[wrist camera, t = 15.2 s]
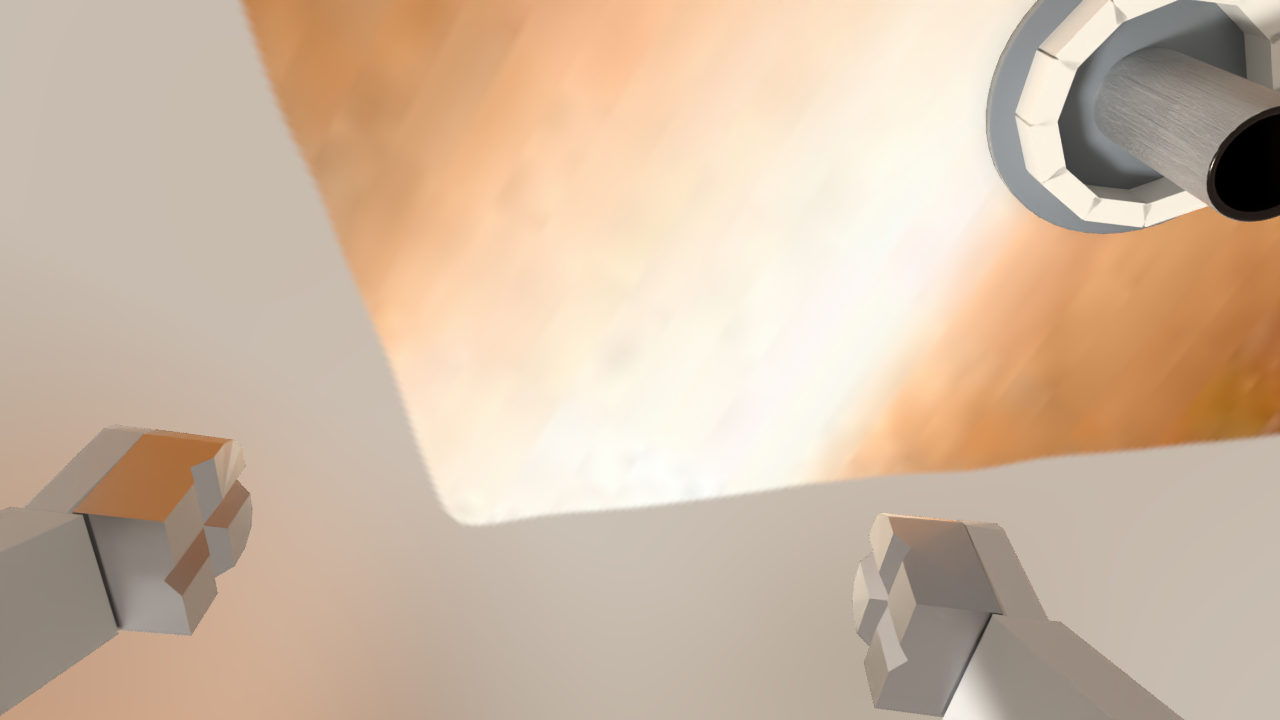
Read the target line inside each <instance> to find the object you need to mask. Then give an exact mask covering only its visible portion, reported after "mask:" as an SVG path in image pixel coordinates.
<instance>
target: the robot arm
mask: <svg viewBox="0 0 1280 720" xmlns="http://www.w3.org/2000/svg"><path fill="white" fill-rule="evenodd" d="M244 468H245V461H244V456H243V452H242V447H241V445H240V444H239V443H237V442H235V441H234V440H231V439H224V438H216V437H209V436H202V435H194V434H187V433H179V432H172V431H165V430H157V429H156V430H151V429H145V428H137V427H129V426H122V425H113V426H110V427H107V428H104V429H102V430H101V431H100V432H99V433H98V434H97V435H96V436H95V437H94V438H93V439H92V440H91V441H90V442H89V443H88V444H87V445H86V446H85V447H84V448H83V449H82V450H81V451H80V452H79V453H78V454H77V455H76V456H75V457H74V458H73V459H72V460H71V461H70V462H69V463H68V464H67V465H66V466H65V467H64V468H63V469H62V470H61V471H60V472H59V473H58V474H57V475H56V476H55V477H54V478H53V479H52V480H51V481H50V482H49V483H48V484H47V485H46V486H45V487H44V488H43V489H42V490H41V491H40V492H39V493H38V494H37V495H36V496H35V497H34V498H33V499H32V500H31V501H30V502H29V503H28V504H27V505H26V506H25V507H24V508H15V507H9V508H6V509H4V510H1V511H0V716H1V715H2V714H4V713H5V712H6V711H8V710H9V709H11V708H12V707H14V706H15V705H17V704H18V703H19V702H21V701H22V700H24V699H25V698H27V697H28V696H29V695H31V694H33V693H34V692H35V691H37V690H38V689H40V688H41V687H43V686H44V685H46V684H47V683H48V682H50V681H51V680H53V679H54V678H56V677H57V676H58V675H60V674H61V673H63V672H64V671H66V670H67V669H69V668H70V667H71V666H73V665H74V664H76V663H77V662H79V661H80V660H82V659H83V658H84V657H86V656H87V655H89V654H90V653H92V652H93V651H94V650H96V649H97V648H99V647H100V646H101V645H103V644H104V643H106V642H107V641H109V640H110V639H112V638H113V637H115V636H116V635H118V630H126V631H139V632H151V633H164V634H177V635H190V636H191V635H192V634H193V632H194V630H195V629H196V627H197V626H198V624H199V622H200V621H201V619H202V618H203V616H204V614H205V613H206V611H207V610H208V608H209V607H210V605H211V603H212V602H213V600H214V598H215V597H216V595H217V593H218V592H217V587H216V582H215V577H217V576H218V575H220V574H222V573H224V572H226V571H227V570H229V569H231V568H232V567H234V566H235V564H236V563H237V561H238V559H239V558H240V556H241V554H242V553H243V551H244V549H245V546H246V543H247V540H248V536H249V533H250V529H251V526H252V503H251V496H250V493H249V492H248V491H247V490H246V489H245V488H244V487H243V486H242V485H241V484H240V482H239V481H238V480H237V478H238V477H239V475H240V474H241V472H242V471H243V469H244ZM869 538H870V542H871V546H872V550H873V552H872V553H871V554H869V555H868V556H867V557H865V558H864V559H862V560H861V561H860V563H859V566H858V569H857V573H856V576H855V579H854V588H853V598H852V604H853V617H854V622H855V626H856V632H857V634H858V635H859V636H860V637H861V638H862V639H863V640H864V641H865V642H866V643H867V644H868V645H869V646H870V647H869V650H868V652H867V655H866V658H865V660H864V666H865V670H866V674H867V679H868V682H869V687H870V691H871V695H872V699H873V703H874V707H875V708H878V709H887V710H893V711H901V712H908V713H916V714H923V715H931V716H939V717H943V719H942V720H1184V719H1182V718H1181V717H1180V716H1179V715H1177V714H1176V713H1175V712H1174V711H1172V710H1171V709H1170V708H1168V707H1167V706H1166V705H1165V704H1164V703H1162V702H1161V701H1160V700H1158V699H1157V698H1156V697H1155V696H1154V695H1152V694H1151V693H1150V692H1148V691H1147V690H1146V689H1145V688H1143V687H1142V686H1141V685H1140V684H1138V683H1137V682H1136V681H1135V680H1133V679H1132V678H1131V677H1130V676H1128V675H1127V674H1126V673H1125V672H1123V671H1122V670H1121V669H1119V668H1118V667H1117V666H1116V665H1114V664H1113V663H1112V662H1111V661H1109V660H1108V659H1107V658H1106V657H1104V656H1103V655H1102V654H1101V653H1099V652H1098V651H1097V650H1095V649H1094V648H1093V647H1092V646H1091V645H1089V644H1088V643H1087V642H1085V641H1084V640H1083V639H1082V638H1080V637H1079V636H1078V635H1076V634H1075V633H1074V632H1073V631H1072V630H1070V629H1069V628H1068V627H1067V626H1065V625H1064V624H1063V623H1061V622H1057V621H1049V620H1048V618H1047V616H1046V614H1045V612H1044V610H1043V608H1042V606H1041V604H1040V602H1039V599H1038V598H1037V595H1036V594H1035V591H1034V589H1033V587H1032V585H1031V583H1030V581H1029V579H1028V577H1027V575H1026V573H1025V571H1024V569H1023V568H1022V565H1021V563H1020V561H1019V559H1018V557H1017V555H1016V553H1015V551H1014V549H1013V547H1012V545H1011V543H1010V541H1009V539H1008V537H1007V535H1006V533H1005V531H1004V529H1003V528H1001V527H1000V526H999V525H998V524H997V523H986V522H975V521H963V520H957V521H953V520H945V519H935V518H926V517H925V518H924V517H916V516H907V515H897V514H888V513H880V514H879V515H878V516H877V518H876V519H875V520H874V522H873V526H872V528H871V531H870V534H869Z"/></svg>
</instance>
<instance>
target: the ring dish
mask: <svg viewBox="0 0 1280 720" xmlns="http://www.w3.org/2000/svg"><path fill="white" fill-rule="evenodd" d="M1156 47H1157V48H1166V49H1170V50H1174V51H1177V52H1180V53H1183V54H1185V55H1187V56H1190V57H1192V58H1195V59H1197V60H1200V61H1202V62H1205V63H1207V64H1210V65H1212V66H1215V67H1217V68H1220V69H1222V70H1225V71H1227V72H1230V73H1232V74H1235V75H1237V76H1240V77H1242V78H1245V79H1247V80H1250V81H1252V82H1255V83H1257V84H1260V85H1262V86H1265V87H1267V88H1270V89H1272V90H1275V91H1277V92H1280V0H1037V2H1036V3H1035V4H1034V5H1033V6H1032V8H1031V9H1030V10H1029V11H1028V12H1027V14H1026V15H1025V16H1024V17H1023V19H1022V20H1021V22H1020V23H1019V25H1018V26H1017V28H1016V29H1015V31H1014V32H1013V34H1012V35H1011V37H1010V39H1009V41H1008V42H1007V44H1006V46H1005V48H1004V50H1003V52H1002V54H1001V56H1000V59H999V61H998V64H997V66H996V69H995V72H994V74H993V78H992V82H991V86H990V89H989V93H988V100H987V108H986V134H987V140H988V147H989V151H990V154H991V157H992V160H993V164H994V166H995V168H996V170H997V172H998V174H999V176H1000V178H1001V179H1002V181H1003V182H1004V184H1005V185H1006V186H1007V188H1008V189H1009V191H1010V192H1011V193H1012V194H1013V195H1014V196H1015V197H1016V198H1017V199H1018V200H1019V201H1020V202H1021V203H1022V204H1023V205H1024V206H1025V207H1026V208H1027V209H1029V210H1030V211H1032V212H1033V213H1034V214H1036V215H1037V216H1038V217H1040V218H1042V219H1044V220H1046V221H1048V222H1050V223H1052V224H1054V225H1057V226H1060V227H1063V228H1066V229H1069V230H1074V231H1079V232H1084V233H1098V234H1109V233H1123V232H1129V231H1135V230H1140V229H1144V228H1147V227H1151V226H1154V225H1158V224H1161V223H1163V222H1166V221H1168V220H1171V219H1173V218H1176V217H1178V216H1180V215H1183V214H1185V213H1188V212H1191V211H1194V210H1197V209H1200V208H1203V207H1206V206H1208V205H1206V204H1205V203H1203V202H1202V201H1200V200H1199V199H1197V198H1196V197H1194V196H1193V195H1191V194H1190V193H1188V192H1187V191H1185V190H1184V189H1182V188H1181V187H1179V186H1178V185H1176V184H1175V183H1173V182H1172V181H1170V180H1169V179H1167V178H1166V177H1164V176H1163V175H1161V174H1160V173H1158V172H1157V171H1155V170H1154V169H1152V168H1151V167H1149V166H1148V165H1147V164H1145V163H1144V162H1142V161H1141V160H1139V159H1138V158H1136V157H1135V156H1133V155H1132V154H1130V153H1129V152H1127V151H1126V150H1124V149H1123V148H1121V147H1120V146H1118V145H1117V144H1115V143H1114V142H1112V141H1111V140H1109V139H1108V138H1107V137H1106V136H1105V135H1103V134H1102V133H1101V131H1100V130H1099V129H1098V127H1097V125H1096V123H1095V120H1094V116H1093V101H1094V97H1095V93H1096V91H1097V88H1098V86H1099V84H1100V82H1101V81H1102V79H1103V78H1104V76H1105V75H1106V74H1107V73H1108V71H1109V70H1110V69H1111V68H1112V67H1113V66H1114V65H1115V64H1117V63H1118V62H1119V61H1120V60H1122V59H1123V58H1125V57H1126V56H1128V55H1130V54H1132V53H1134V52H1137V51H1140V50H1143V49H1147V48H1156Z"/></svg>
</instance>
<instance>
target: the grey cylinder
mask: <svg viewBox="0 0 1280 720" xmlns="http://www.w3.org/2000/svg"><path fill="white" fill-rule="evenodd" d="M1093 116H1094V120H1095V123H1096V125H1097V127H1098V129H1099V130H1100V131H1101V133H1102V134H1103V135H1105V136H1106V137H1107V138H1108V139H1109V140H1111V141H1112V142H1114V143H1115V144H1117V145H1118V146H1120V147H1121V148H1123V149H1124V150H1126V151H1127V152H1129V153H1130V154H1132V155H1133V156H1135V157H1136V158H1138V159H1139V160H1141V161H1142V162H1144V163H1145V164H1147V165H1148V166H1149V167H1151V168H1152V169H1154V170H1155V171H1157V172H1158V173H1160V174H1161V175H1163V176H1164V177H1166V178H1167V179H1169V180H1170V181H1172V182H1173V183H1175V184H1176V185H1178V186H1179V187H1181V188H1182V189H1184V190H1185V191H1187V192H1188V193H1190V194H1191V195H1193V196H1194V197H1196V198H1197V199H1199V200H1200V201H1202V202H1203V203H1205V204H1206V205H1208V206H1209V207H1211V208H1212V209H1214V210H1215V211H1217V212H1219V213H1220V214H1222V215H1223V216H1225V217H1227V218H1230V219H1233V220H1237V221H1244V222H1254V221H1262V220H1267V219H1271V218H1274V217H1277V216H1280V92H1277V91H1275V90H1272V89H1270V88H1267V87H1265V86H1262V85H1260V84H1257V83H1255V82H1252V81H1250V80H1247V79H1245V78H1242V77H1240V76H1237V75H1235V74H1232V73H1230V72H1227V71H1225V70H1222V69H1220V68H1217V67H1215V66H1212V65H1210V64H1207V63H1205V62H1202V61H1200V60H1197V59H1195V58H1192V57H1190V56H1187V55H1185V54H1183V53H1180V52H1177V51H1174V50H1170V49H1166V48H1157V47H1156V48H1147V49H1143V50H1140V51H1137V52H1134V53H1132V54H1130V55H1128V56H1126V57H1125V58H1123V59H1122V60H1120V61H1119V62H1118V63H1117V64H1115V65H1114V66H1113V67H1112V68H1111V69H1110V70H1109V71H1108V73H1107V74H1106V75H1105V76H1104V78H1103V79H1102V81H1101V82H1100V84H1099V86H1098V88H1097V91H1096V93H1095V97H1094V101H1093Z"/></svg>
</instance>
